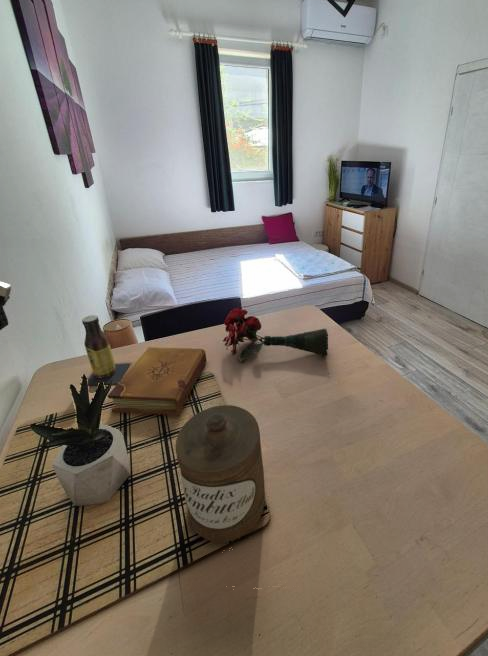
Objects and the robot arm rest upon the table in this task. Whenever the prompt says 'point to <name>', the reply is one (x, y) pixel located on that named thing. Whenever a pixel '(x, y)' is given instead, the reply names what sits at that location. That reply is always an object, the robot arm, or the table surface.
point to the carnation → (249, 327)
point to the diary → (158, 381)
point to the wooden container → (222, 472)
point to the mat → (115, 376)
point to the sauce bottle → (98, 348)
